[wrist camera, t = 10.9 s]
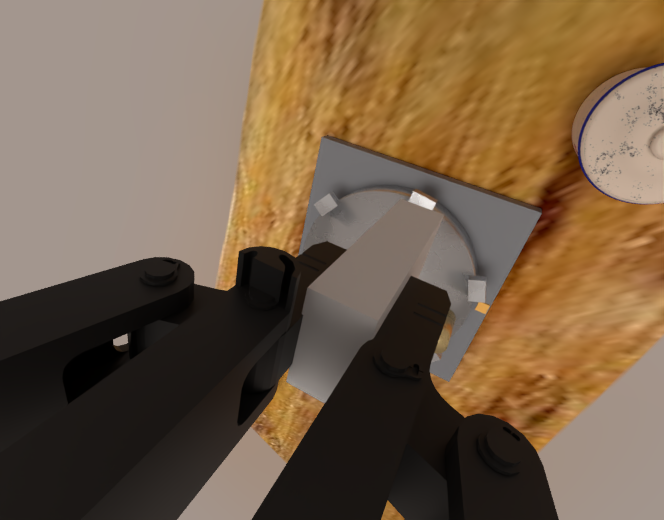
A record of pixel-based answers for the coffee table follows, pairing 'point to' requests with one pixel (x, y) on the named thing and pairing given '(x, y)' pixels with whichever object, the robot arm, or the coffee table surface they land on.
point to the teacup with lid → (624, 136)
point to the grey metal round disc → (443, 258)
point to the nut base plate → (458, 197)
